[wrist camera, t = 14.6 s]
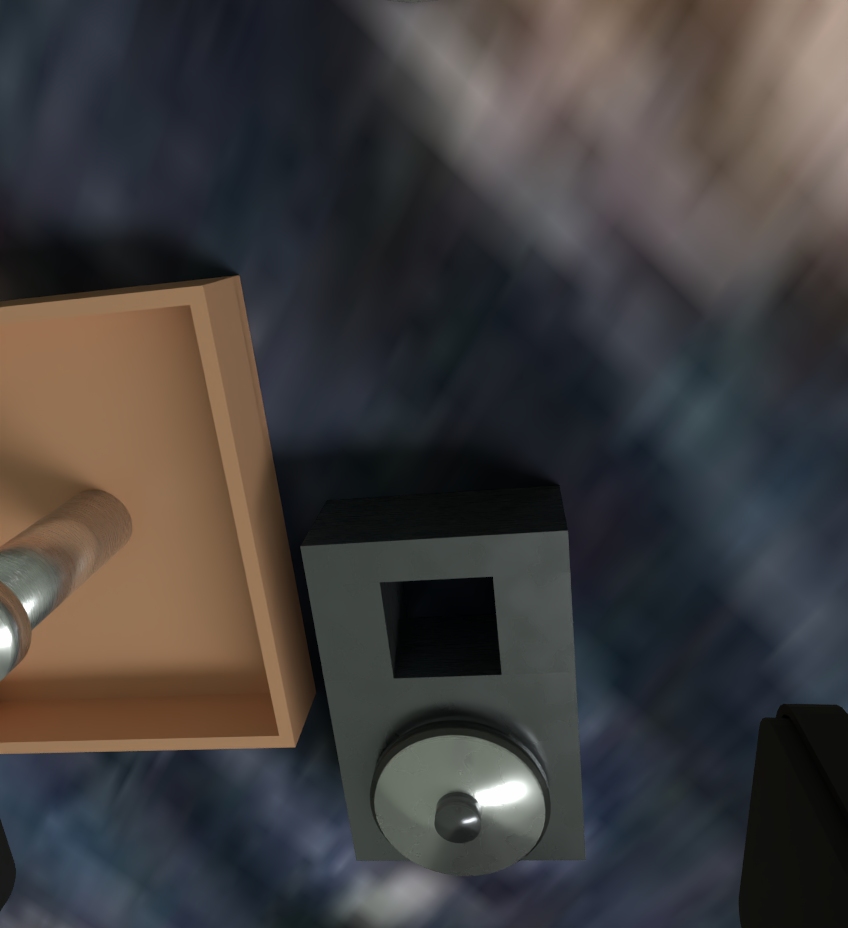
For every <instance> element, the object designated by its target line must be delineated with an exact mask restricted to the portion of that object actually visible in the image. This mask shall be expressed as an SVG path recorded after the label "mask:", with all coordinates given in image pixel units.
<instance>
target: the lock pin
mask: <svg viewBox="0 0 848 928" xmlns="http://www.w3.org/2000/svg"><path fill="white" fill-rule="evenodd" d="M132 528H133V527H132V519H131V516H130V514H129V512H128V510H127V508H126V507H125V506H124V504H123V503H122V502H121V501H120V500H119V499H117V498H116V497H115V496H113V495H112V494H110V493H107V492H105V491H101V490H95V489H90V490H85V491H82V492H79V493H78V494H76V495H75V496H73V497H72V498H70V499H69V500H67V501H66V502H64V503H63V504H62V505H60V506H59V507H57V508H56V509H54V510H53V511H51V512H50V513H48V514H47V515H45V516H44V517H43V518H41V519H40V520H38V521H37V522H35V523H34V524H32V525H31V526H29V527H28V528H27V529H25V530H24V531H22V532H21V533H19V534H18V535H16V536H15V537H13V538H12V539H11V540H9V541H8V542H6V543H5V544H3V545H2V546H0V681H1V680H3V679H4V678H5V677H6V676H7V675H8V674H9V673H10V672H11V671H12V670H13V669H14V668H15V667H16V666H17V665H18V664H19V663H20V662H21V661H22V660H23V659H24V658H25V656H26V654H27V653H28V650H29V648H30V644H31V637H32V632H31V631H32V630H33V629H34V628H35V627H36V626H37V625H38V624H40V623H41V622H42V621H43V620H44V619H45V618H46V617H47V616H48V615H49V614H50V613H52V612H53V611H54V610H55V609H56V608H57V607H58V606H59V605H60V604H61V603H63V602H64V601H65V600H66V599H67V598H68V597H69V596H70V595H71V594H72V593H74V592H75V591H76V590H77V589H78V588H79V587H80V586H81V585H82V584H83V583H85V582H86V581H87V580H88V579H89V578H90V577H91V576H92V575H93V574H94V573H96V572H97V571H98V570H99V569H100V568H101V567H102V566H103V565H104V564H105V563H107V562H108V561H109V560H110V559H111V558H112V557H113V556H114V555H115V554H116V553H118V552H119V551H120V550H121V549H122V548H123V547H124V546H125V545H126V544H127V543H128V541H129V540H130V537H131V535H132Z"/></svg>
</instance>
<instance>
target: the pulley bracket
mask: <svg viewBox="0 0 848 928" xmlns="http://www.w3.org/2000/svg"><path fill="white" fill-rule="evenodd" d="M300 548H301V553H302V559H303V565H304V570H305V576H306V581H307V587H308V592H309V598H310V604H311V609H312V615H313V620H314V626H315V632H316V637H317V643H318V648H319V654H320V660H321V665H322V671H323V676H324V682H325V687H326V693H327V699H328V704H329V710H330V715H331V721H332V727H333V732H334V738H335V743H336V749H337V754H338V760H339V766H340V771H341V777H342V782H343V788H344V794H345V799H346V805H347V810H348V816H349V822H350V827H351V833H352V838H353V844H354V849H355V855H356V861H398V860H411V861H413V862H415V863H416V864H419V865H421V866H423V867H425V868H428V869H430V870H433V871H436V872H440V873H444V874H450V875H458V876H476V875H483V874H489V873H493V872H496V871H499V870H502V869H504V868H507V867H509V866H511V865H513V864H514V863H516V862H518V861H520V860H586V859H585V840H584V822H583V803H582V784H581V766H580V747H579V728H578V710H577V691H576V673H575V654H574V635H573V617H572V598H571V580H570V561H569V542H568V529H567V523H566V518H565V513H564V508H563V502H562V497H561V492H560V487H559V485H555V486H540V487H525V488H510V489H495V490H480V491H465V492H450V493H435V494H420V495H405V496H390V497H375V498H360V499H345V500H330V501H327V502H326V504H325V505H324V507H323V509H322V510H321V512H320V514H319V515H318V517H317V519H316V521H315V522H314V524H313V526H312V527H311V529H310V531H309V532H308V534H307V536H306V537H305V539H304V541H303V543H302V544H301V546H300ZM475 577H493V584H494V595H495V606H496V614H492V615H469V616H447V617H425V618H408V617H407V610H406V602H405V595H404V587H403V581H416V580H436V579H455V578H475Z"/></svg>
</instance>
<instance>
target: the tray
mask: <svg viewBox="0 0 848 928" xmlns="http://www.w3.org/2000/svg"><path fill="white" fill-rule="evenodd" d="M90 489H95V490H101V491H105V492H107V493H110V494H112V495H113V496H115V497H116V498H117V499H119V500H120V501H121V502H122V503H123V504H124V506H125V507H126V508H127V510H128V512H129V514H130V516H131V519H132V527H133V528H132V535H131V537H130V540H129V541H128V543H127V544H126V545H125V546H124V547H123V548H122V549H121V550H120V551H119V552H118V553H116V554H115V555H114V556H113V557H112V558H111V559H110V560H109V561H108V562H107V563H105V564H104V565H103V566H102V567H101V568H100V569H99V570H98V571H97V572H96V573H94V574H93V575H92V576H91V577H90V578H89V579H88V580H87V581H86V582H85V583H83V584H82V585H81V586H80V587H79V588H78V589H77V590H76V591H75V592H74V593H72V594H71V595H70V596H69V597H68V598H67V599H66V600H65V601H64V602H63V603H61V604H60V605H59V606H58V607H57V608H56V609H55V610H54V611H53V612H52V613H50V614H49V615H48V616H47V617H46V618H45V619H44V620H43V621H42V622H41V623H40V624H38V625H37V626H36V627H35V628H34V629H33V630H32V631H31V632H32V637H31V644H30V648H29V650H28V653H27V654H26V656H25V658H24V659H23V660H22V661H21V662H20V663H19V664H18V665H17V666H16V667H15V668H14V669H13V670H12V671H11V672H10V673H9V674H8V675H7V676H6V677H5V678H4V679H3V680H1V681H0V754H15V753H60V752H104V751H149V750H194V749H239V748H284V747H296V744H297V742H298V739H299V736H300V734H301V731H302V728H303V726H304V723H305V721H306V718H307V715H308V713H309V710H310V708H311V705H312V702H313V700H314V697H315V695H316V689H315V683H314V678H313V673H312V667H311V662H310V656H309V651H308V645H307V640H306V635H305V629H304V624H303V618H302V613H301V607H300V602H299V597H298V591H297V586H296V580H295V575H294V569H293V564H292V559H291V553H290V548H289V542H288V537H287V531H286V526H285V521H284V515H283V510H282V504H281V499H280V493H279V488H278V482H277V477H276V472H275V466H274V461H273V455H272V450H271V444H270V439H269V434H268V428H267V423H266V417H265V412H264V406H263V401H262V396H261V390H260V385H259V379H258V374H257V368H256V363H255V358H254V352H253V347H252V341H251V336H250V330H249V325H248V320H247V314H246V309H245V303H244V298H243V292H242V287H241V282H240V276H239V275H236V276H227V277H218V278H209V279H200V280H190V281H181V282H172V283H163V284H154V285H145V286H135V287H126V288H117V289H108V290H99V291H89V292H80V293H71V294H62V295H53V296H43V297H34V298H25V299H16V300H7V301H0V546H2V545H3V544H5V543H6V542H8V541H9V540H11V539H12V538H13V537H15V536H16V535H18V534H19V533H21V532H22V531H24V530H25V529H27V528H28V527H29V526H31V525H32V524H34V523H35V522H37V521H38V520H40V519H41V518H43V517H44V516H45V515H47V514H48V513H50V512H51V511H53V510H54V509H56V508H57V507H59V506H60V505H62V504H63V503H64V502H66V501H67V500H69V499H70V498H72V497H73V496H75V495H76V494H78V493H79V492H82V491H85V490H90Z"/></svg>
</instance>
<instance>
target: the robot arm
mask: <svg viewBox="0 0 848 928" xmlns="http://www.w3.org/2000/svg"><path fill="white" fill-rule="evenodd" d="M390 1H398V2H406V3H415V2H426V1H436V0H390ZM15 877H16V868H15V863H14V860H13V857H12V854H11V851H10V848H9V845H8V841H7V838H6V835H5V832H4V829H3V826H2V823H1V820H0V911H1V909H2V908H3V906H4V905H5V903H6V902H7V900H8V898H9V896H10V895H11V892H12V889H13V887H14V882H15ZM739 915H740V922H741V927H742V928H848V714H847V713H846V712H845V711H844V709H843V708H842V707H840V706H838V705H816V704H783V705H781V706H780V707H779V709H778V711H777V715H776V718H763V719H762V721H761V723H760V727H759V735H758V743H757V751H756V760H755V768H754V776H753V785H752V793H751V801H750V810H749V818H748V826H747V835H746V843H745V851H744V860H743V868H742V876H741V885H740V893H739Z"/></svg>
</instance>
